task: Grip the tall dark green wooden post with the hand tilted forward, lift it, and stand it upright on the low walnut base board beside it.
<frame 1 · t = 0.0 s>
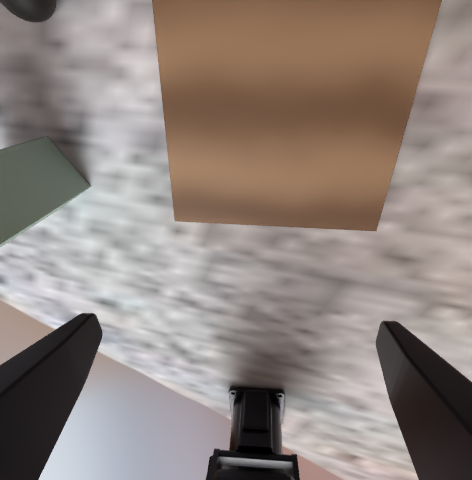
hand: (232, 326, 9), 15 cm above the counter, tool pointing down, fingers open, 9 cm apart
walnut base: (279, 112, 19), on the counter
green post: (51, 176, 23), on the counter
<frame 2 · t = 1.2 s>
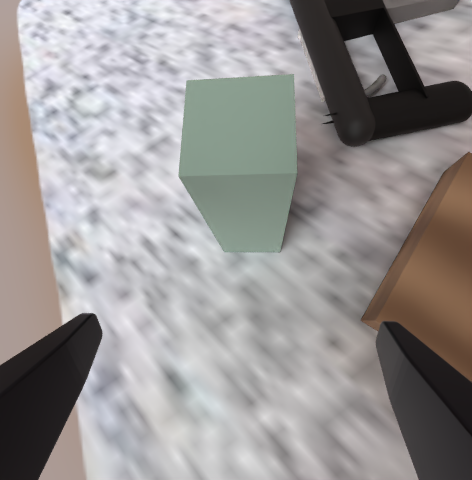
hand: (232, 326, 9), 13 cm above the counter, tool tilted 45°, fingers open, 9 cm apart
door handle: (377, 54, 28), on the counter
green post: (252, 225, 24), on the counter
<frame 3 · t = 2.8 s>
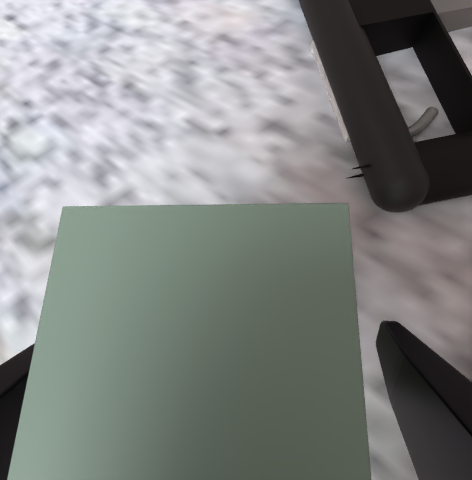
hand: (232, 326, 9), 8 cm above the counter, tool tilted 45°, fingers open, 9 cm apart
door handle: (419, 74, 21), on the counter
green post: (246, 331, 16), on the counter
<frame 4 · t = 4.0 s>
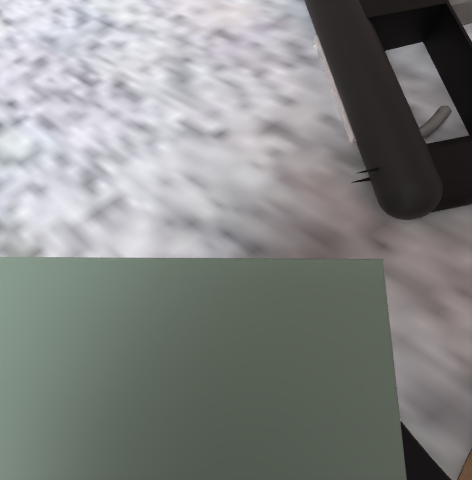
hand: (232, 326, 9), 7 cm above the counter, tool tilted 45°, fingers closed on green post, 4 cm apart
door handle: (430, 71, 19), on the counter
green post: (245, 351, 15), on the counter, touching gripper
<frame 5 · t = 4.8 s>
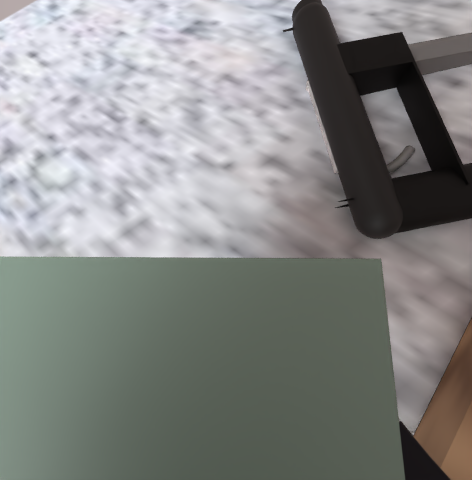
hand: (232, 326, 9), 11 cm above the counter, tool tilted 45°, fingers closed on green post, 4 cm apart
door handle: (402, 112, 23), on the counter
green post: (245, 351, 15), point 4 cm above the counter, touching gripper
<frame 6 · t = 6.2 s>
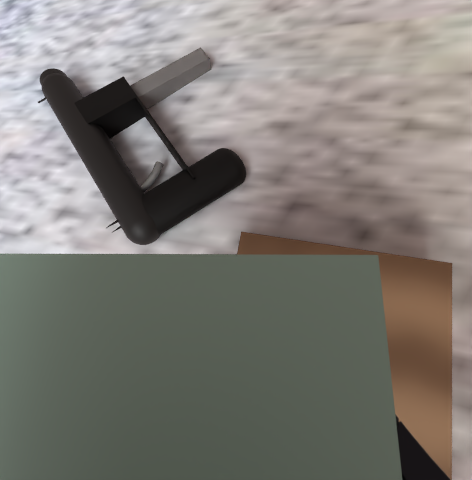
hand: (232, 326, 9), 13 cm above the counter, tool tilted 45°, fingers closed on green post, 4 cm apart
walnut base: (322, 348, 21), on the counter
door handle: (157, 133, 28), on the counter
green post: (244, 350, 15), point 7 cm above the counter, touching gripper
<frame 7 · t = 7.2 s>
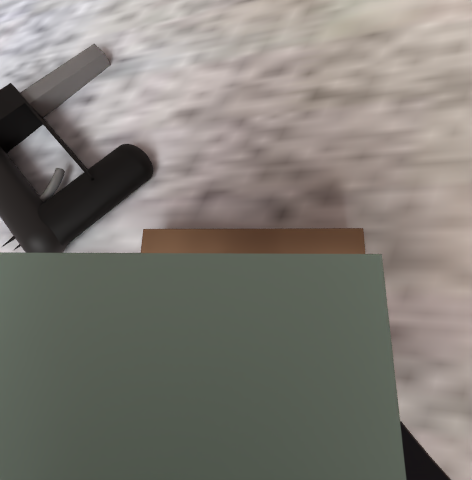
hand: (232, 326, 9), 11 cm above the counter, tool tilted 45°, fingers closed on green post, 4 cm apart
walnut base: (249, 341, 20), on the counter
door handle: (61, 139, 26), on the counter
green post: (245, 350, 15), point 5 cm above the counter, touching gripper
when the fingers open (11 cm above the counter, at t = 7.5 s): green post drops 1 cm, resting on walnut base.
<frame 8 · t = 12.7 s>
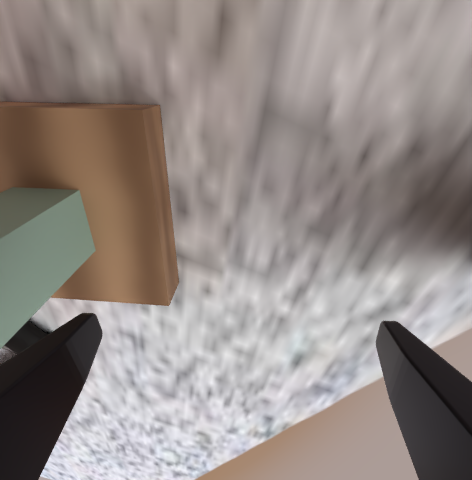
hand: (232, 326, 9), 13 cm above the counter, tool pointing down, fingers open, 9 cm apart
walnut base: (81, 203, 22), on the counter
green post: (56, 220, 20), point 3 cm above the counter, touching walnut base
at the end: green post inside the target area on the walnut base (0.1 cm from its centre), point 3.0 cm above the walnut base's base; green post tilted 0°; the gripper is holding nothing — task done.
